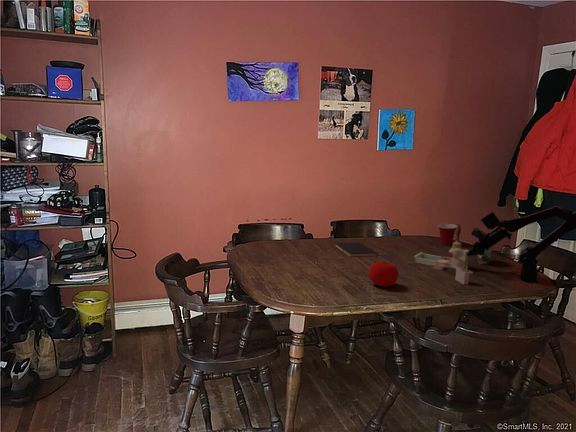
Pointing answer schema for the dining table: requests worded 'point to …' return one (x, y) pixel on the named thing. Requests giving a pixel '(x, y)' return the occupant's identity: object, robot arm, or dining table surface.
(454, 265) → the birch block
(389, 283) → the tomato
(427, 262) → the channel
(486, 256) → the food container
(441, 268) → the trap bays
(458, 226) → the hand bell
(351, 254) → the hardcover book
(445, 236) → the plastic cup
